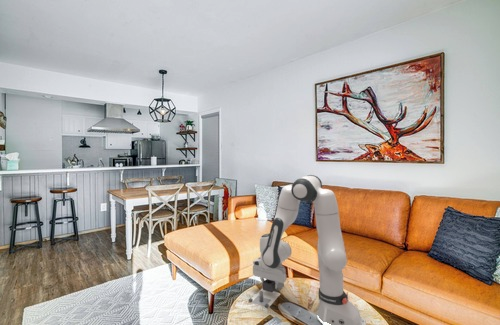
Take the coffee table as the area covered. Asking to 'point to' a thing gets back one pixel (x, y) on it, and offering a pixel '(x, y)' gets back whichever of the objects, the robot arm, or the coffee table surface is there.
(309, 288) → the coffee table surface
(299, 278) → the coffee table surface
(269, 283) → the dark grey hollow block
